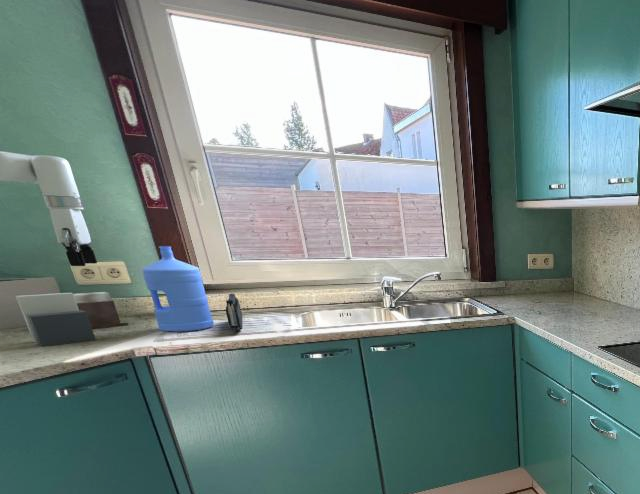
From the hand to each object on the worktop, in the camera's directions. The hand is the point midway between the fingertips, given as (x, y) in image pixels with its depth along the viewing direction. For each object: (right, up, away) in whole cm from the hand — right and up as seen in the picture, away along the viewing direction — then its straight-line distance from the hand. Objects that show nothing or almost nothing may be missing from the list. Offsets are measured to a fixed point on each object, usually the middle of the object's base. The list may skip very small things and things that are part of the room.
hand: (84, 264), depth 149 cm
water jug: (+7, -14, +29) cm, 33 cm away
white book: (-16, -22, +8) cm, 28 cm away
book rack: (-24, -13, +27) cm, 39 cm away
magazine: (+22, -13, +33) cm, 42 cm away
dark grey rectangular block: (-10, -23, +4) cm, 25 cm away
